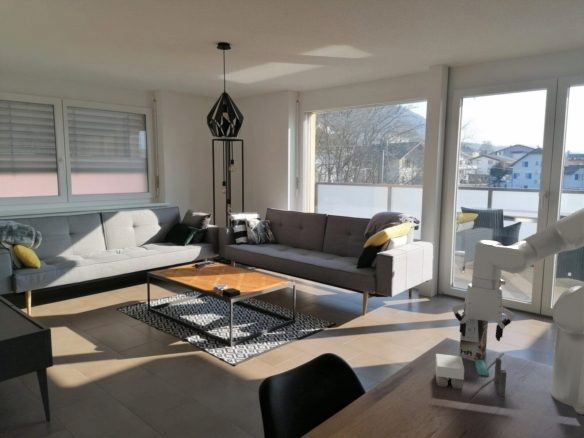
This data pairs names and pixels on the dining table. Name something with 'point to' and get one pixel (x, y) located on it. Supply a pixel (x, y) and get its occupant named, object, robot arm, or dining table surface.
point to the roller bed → (499, 378)
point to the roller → (481, 367)
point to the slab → (449, 366)
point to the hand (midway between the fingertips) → (480, 336)
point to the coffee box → (474, 340)
